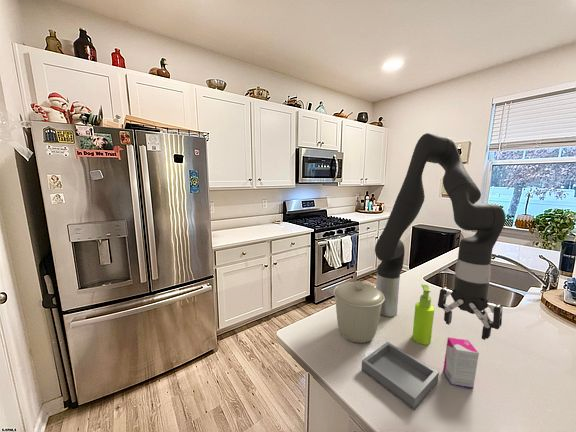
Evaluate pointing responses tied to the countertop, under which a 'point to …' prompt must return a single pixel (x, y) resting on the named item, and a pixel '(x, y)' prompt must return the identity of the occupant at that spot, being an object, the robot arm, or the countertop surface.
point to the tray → (400, 374)
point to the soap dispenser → (423, 318)
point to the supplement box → (460, 363)
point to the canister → (358, 310)
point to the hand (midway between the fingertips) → (465, 330)
